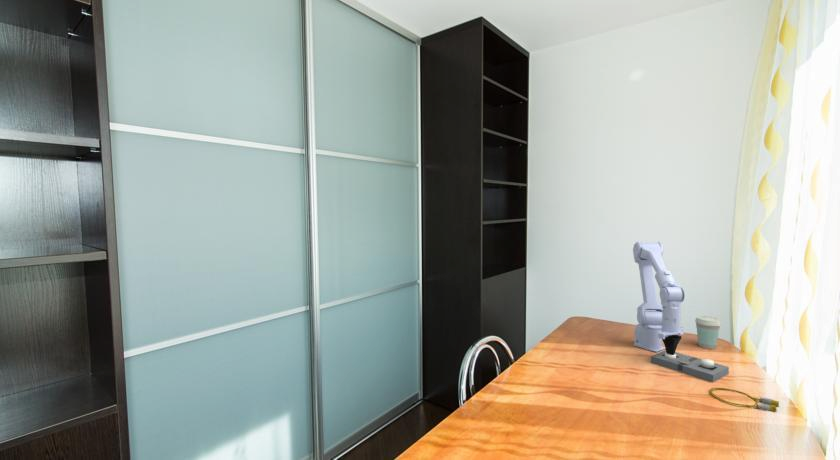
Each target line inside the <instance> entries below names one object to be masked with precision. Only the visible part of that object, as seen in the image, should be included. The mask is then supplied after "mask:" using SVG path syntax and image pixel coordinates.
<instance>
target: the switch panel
mask: <svg viewBox="0 0 840 460" xmlns="http://www.w3.org/2000/svg"><path fill="white" fill-rule="evenodd" d="M665 352H666V349H664V350H661V351H659V352H658V353H657V352H656V353H655V354H653V355H652V354H651V355H650V363H651V364H655V365H658V366H659V367H664V368H667V369H670V370H674V371H676V372H678V373H682V374H686V375H689V376H692V377H695V378H698V379H702V380H704V381H708V382H710V383H715V382H716V381H718V380H720V379H722V378H723V377H726V376H727V375H729V372H730V371H729V370H730V367H729V366H728V365H723V364H719V363H716V362H714V368H706V367H703V366H702V365H701V359H702V358H700V357H699V358H698V357H695V356H691V355H689V362H690V363H689V364H683V363H680V362H678V361H680V354H681V353H680V352H677V351H675V354H676V358H675V359H672V358H668V357H665Z"/></svg>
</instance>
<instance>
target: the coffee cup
mask: <svg viewBox="0 0 840 460" xmlns="http://www.w3.org/2000/svg"><path fill="white" fill-rule="evenodd" d="M695 325H696V326H695V328H696V332H697V333H696V334H697V343H698V347H700V348H702V349H705V348H706V349H707V350H716V349H717V343H718V337H719V333H720V326H721V321H720V319H719V318H716V317H712V316H706V315H698V316H697V317H696V318H695Z"/></svg>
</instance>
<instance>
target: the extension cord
mask: <svg viewBox="0 0 840 460" xmlns="http://www.w3.org/2000/svg"><path fill="white" fill-rule="evenodd" d="M713 391H728V392H732V393H737V394H741V395H745V396H746V395H747V397H749V398H751V399H752V400H754V401H755V403H754V404H752V405H751V404H750V405H749V404H742V403H734V402H731V401H727V400H725V399H722V398H721V397H719V396H717V395H716V394H714V393H713ZM709 394H710V396H711V397H713V398H715V399H716V400H718V401H720V402H722V403H725V404H726V405H730V406H734V407H740V408H756V409H757V408H758V410H761V409H762V411H766V410H768V411H769V412H775V411H776V412H777V410H778V409H777V406H778V408H779V407H780V402H779V401H778V400H774V399H772V398H767V397H766V398H765V397H759V398H757V397H753V396H751V395H749V394H747V393H746V392H743V391H739V390H736V389H733V388H732V389H730V388H725V387H711V388H709ZM758 401H759V402H761V403H764V404H759V402H758ZM765 403H766V404H765ZM768 404H769V405H768ZM773 405H774V406H773ZM768 411H767V412H768Z"/></svg>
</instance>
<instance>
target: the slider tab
mask: <svg viewBox="0 0 840 460" xmlns="http://www.w3.org/2000/svg"><path fill="white" fill-rule="evenodd" d="M689 356H690V355H688V354H686V353H681V354H680V361H678V362H680V363H683V364H689V363H690V362H689Z"/></svg>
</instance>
